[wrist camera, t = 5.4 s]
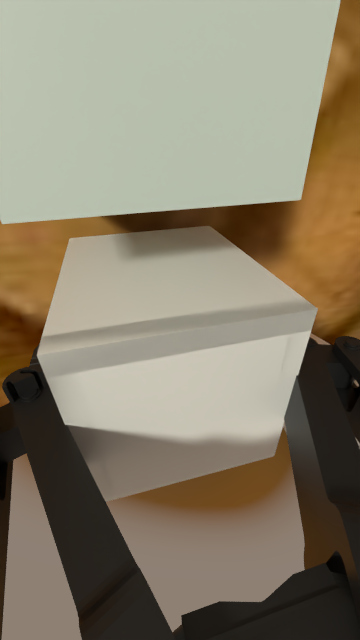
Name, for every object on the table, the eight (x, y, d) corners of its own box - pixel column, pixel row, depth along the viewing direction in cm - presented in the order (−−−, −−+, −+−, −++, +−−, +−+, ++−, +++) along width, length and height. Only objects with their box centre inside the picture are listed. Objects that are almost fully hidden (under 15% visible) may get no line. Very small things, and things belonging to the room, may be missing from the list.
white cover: (209, 225, 16) (317, 308, 8) (205, 333, 21) (274, 456, 13) (69, 238, 15) (36, 355, 7) (97, 351, 19) (97, 504, 11)
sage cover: (199, -39, 12) (426, -435, 4) (197, 171, 16) (300, 199, 8) (-6, -60, 10) (-386, -841, 2) (53, 179, 15) (1, 223, 6)
